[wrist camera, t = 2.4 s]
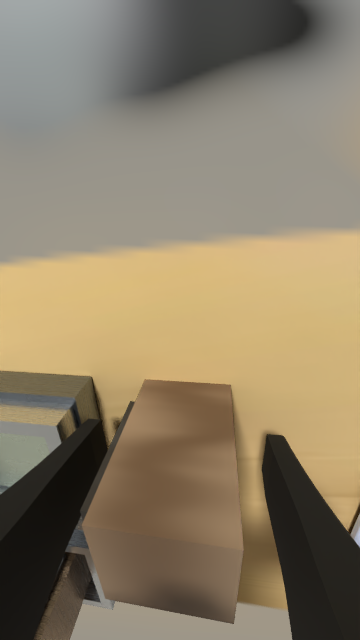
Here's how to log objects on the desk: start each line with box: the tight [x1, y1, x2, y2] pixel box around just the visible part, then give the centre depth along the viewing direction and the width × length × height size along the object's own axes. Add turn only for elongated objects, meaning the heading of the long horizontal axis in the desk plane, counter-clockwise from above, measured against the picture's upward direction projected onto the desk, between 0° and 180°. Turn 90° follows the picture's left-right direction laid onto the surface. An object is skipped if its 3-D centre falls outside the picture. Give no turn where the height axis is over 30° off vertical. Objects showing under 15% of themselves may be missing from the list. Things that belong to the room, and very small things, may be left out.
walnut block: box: [80, 379, 244, 624], centre depth 9 cm, size 4×4×6 cm
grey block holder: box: [0, 371, 115, 640], centre depth 12 cm, size 8×17×8 cm, turn 2°
